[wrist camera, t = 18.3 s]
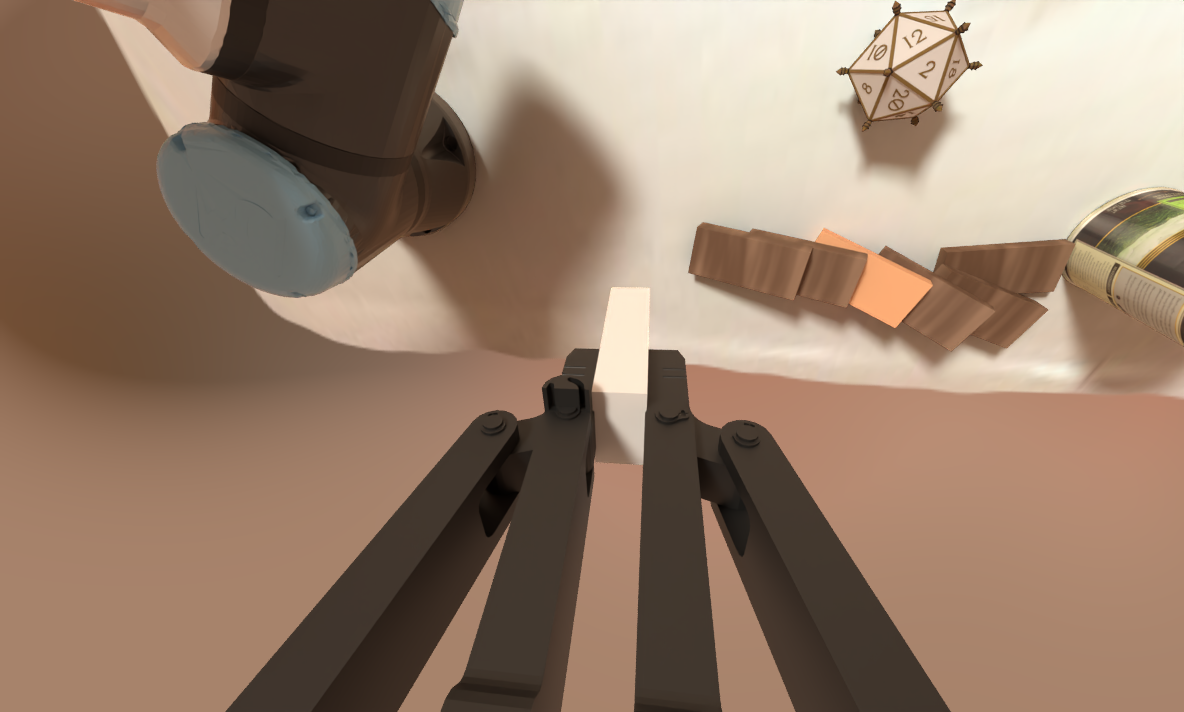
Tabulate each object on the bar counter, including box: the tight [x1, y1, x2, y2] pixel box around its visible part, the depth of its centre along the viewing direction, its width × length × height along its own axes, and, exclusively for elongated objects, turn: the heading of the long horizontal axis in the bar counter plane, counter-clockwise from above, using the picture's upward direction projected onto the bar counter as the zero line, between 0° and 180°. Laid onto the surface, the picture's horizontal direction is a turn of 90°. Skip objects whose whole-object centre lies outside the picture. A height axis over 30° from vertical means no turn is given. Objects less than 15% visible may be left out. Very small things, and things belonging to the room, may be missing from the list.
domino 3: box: [815, 228, 933, 328], centre depth 46 cm, size 2×5×11 cm
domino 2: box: [750, 229, 868, 308], centre depth 46 cm, size 2×5×11 cm
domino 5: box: [933, 239, 1076, 293], centre depth 46 cm, size 2×5×11 cm
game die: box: [836, 0, 983, 132], centre depth 35 cm, size 9×8×10 cm
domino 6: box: [934, 264, 1048, 348], centre depth 47 cm, size 2×5×11 cm
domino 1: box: [688, 222, 813, 301], centre depth 46 cm, size 2×5×11 cm
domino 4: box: [878, 246, 995, 351], centre depth 46 cm, size 2×5×11 cm
